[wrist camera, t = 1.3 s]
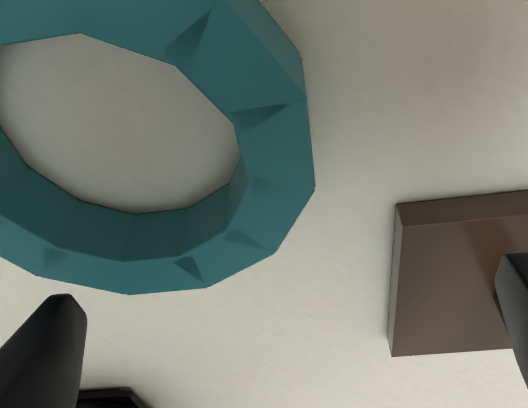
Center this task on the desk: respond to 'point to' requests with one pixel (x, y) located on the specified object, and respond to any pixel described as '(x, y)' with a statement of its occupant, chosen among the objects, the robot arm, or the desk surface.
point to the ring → (209, 209)
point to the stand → (452, 272)
